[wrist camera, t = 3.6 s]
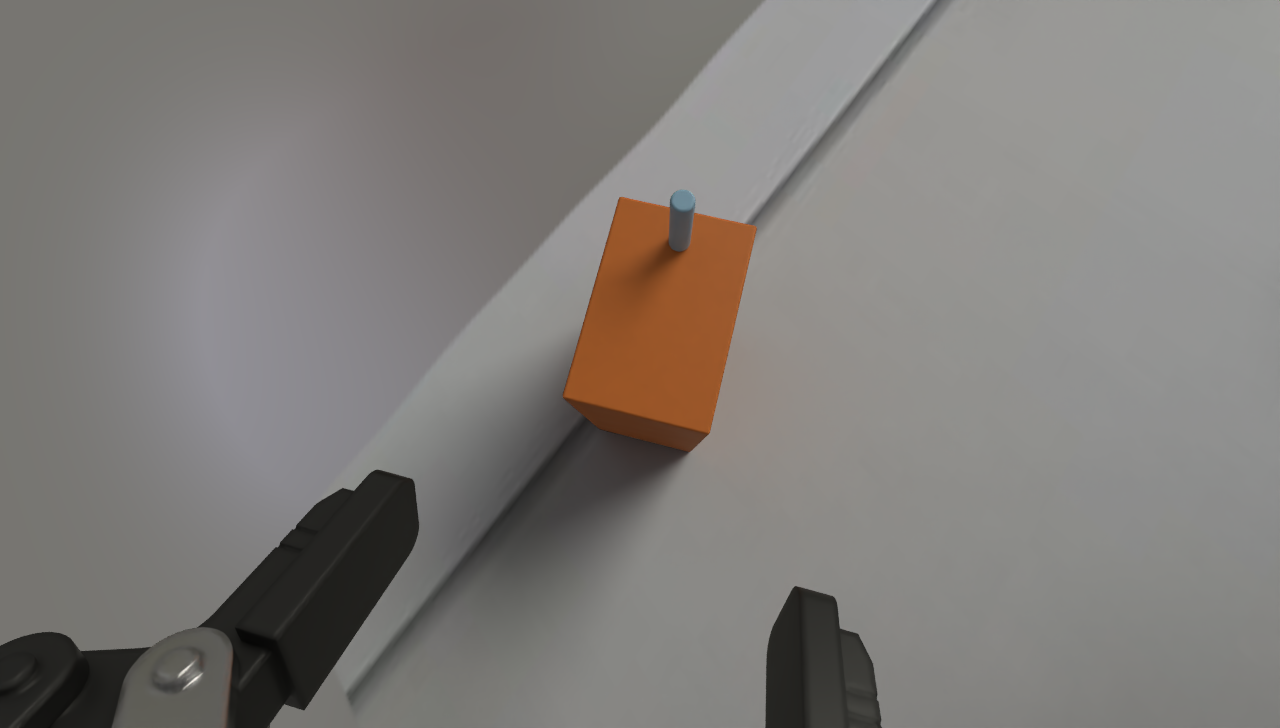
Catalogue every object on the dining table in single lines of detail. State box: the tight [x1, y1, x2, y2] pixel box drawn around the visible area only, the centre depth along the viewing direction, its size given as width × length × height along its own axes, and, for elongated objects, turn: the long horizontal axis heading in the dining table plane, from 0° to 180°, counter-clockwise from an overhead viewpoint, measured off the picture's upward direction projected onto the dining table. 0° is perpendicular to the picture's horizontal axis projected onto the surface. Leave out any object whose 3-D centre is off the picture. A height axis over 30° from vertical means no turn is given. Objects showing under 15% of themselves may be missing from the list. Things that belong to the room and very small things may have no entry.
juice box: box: [563, 190, 757, 452], centre depth 18 cm, size 4×6×11 cm, turn 166°
